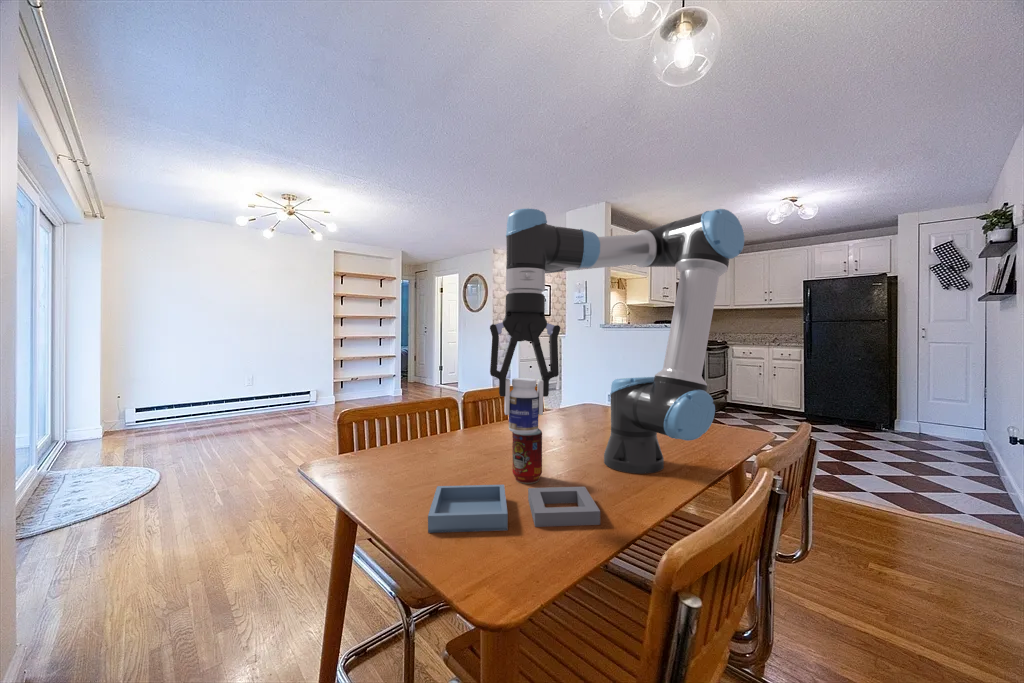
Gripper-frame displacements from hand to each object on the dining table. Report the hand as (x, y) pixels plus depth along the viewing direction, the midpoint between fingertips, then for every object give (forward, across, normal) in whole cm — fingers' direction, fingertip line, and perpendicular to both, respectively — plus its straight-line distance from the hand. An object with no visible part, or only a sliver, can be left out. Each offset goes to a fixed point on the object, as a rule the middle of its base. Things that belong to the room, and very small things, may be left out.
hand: (523, 413), depth 81 cm
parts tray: (+20, -10, +1) cm, 22 cm away
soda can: (+20, +3, +18) cm, 27 cm away
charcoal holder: (+19, +8, 0) cm, 21 cm away
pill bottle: (+4, 0, 0) cm, 4 cm away
